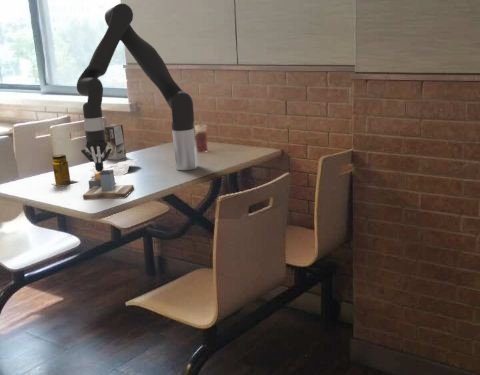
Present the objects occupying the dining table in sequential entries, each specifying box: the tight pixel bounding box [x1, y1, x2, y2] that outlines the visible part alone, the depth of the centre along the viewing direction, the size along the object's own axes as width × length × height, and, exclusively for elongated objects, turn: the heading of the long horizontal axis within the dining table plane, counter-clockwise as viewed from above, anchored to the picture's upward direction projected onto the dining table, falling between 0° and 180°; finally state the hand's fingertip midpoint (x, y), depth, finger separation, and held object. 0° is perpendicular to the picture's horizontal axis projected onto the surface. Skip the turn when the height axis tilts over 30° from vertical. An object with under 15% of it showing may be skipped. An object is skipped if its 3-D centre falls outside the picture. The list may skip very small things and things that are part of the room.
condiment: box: [52, 154, 79, 187], centre depth 246 cm, size 7×8×12 cm
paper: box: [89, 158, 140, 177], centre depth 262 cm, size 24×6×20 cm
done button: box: [93, 172, 100, 180], centre depth 238 cm, size 4×4×3 cm
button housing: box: [88, 176, 116, 189], centre depth 239 cm, size 8×8×3 cm
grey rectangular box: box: [100, 169, 116, 191], centre depth 225 cm, size 4×4×7 cm
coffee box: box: [103, 124, 127, 161], centre depth 288 cm, size 9×6×16 cm
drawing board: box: [82, 184, 135, 200], centre depth 226 cm, size 16×12×2 cm
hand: (99, 171), depth 238 cm, fingers closed
